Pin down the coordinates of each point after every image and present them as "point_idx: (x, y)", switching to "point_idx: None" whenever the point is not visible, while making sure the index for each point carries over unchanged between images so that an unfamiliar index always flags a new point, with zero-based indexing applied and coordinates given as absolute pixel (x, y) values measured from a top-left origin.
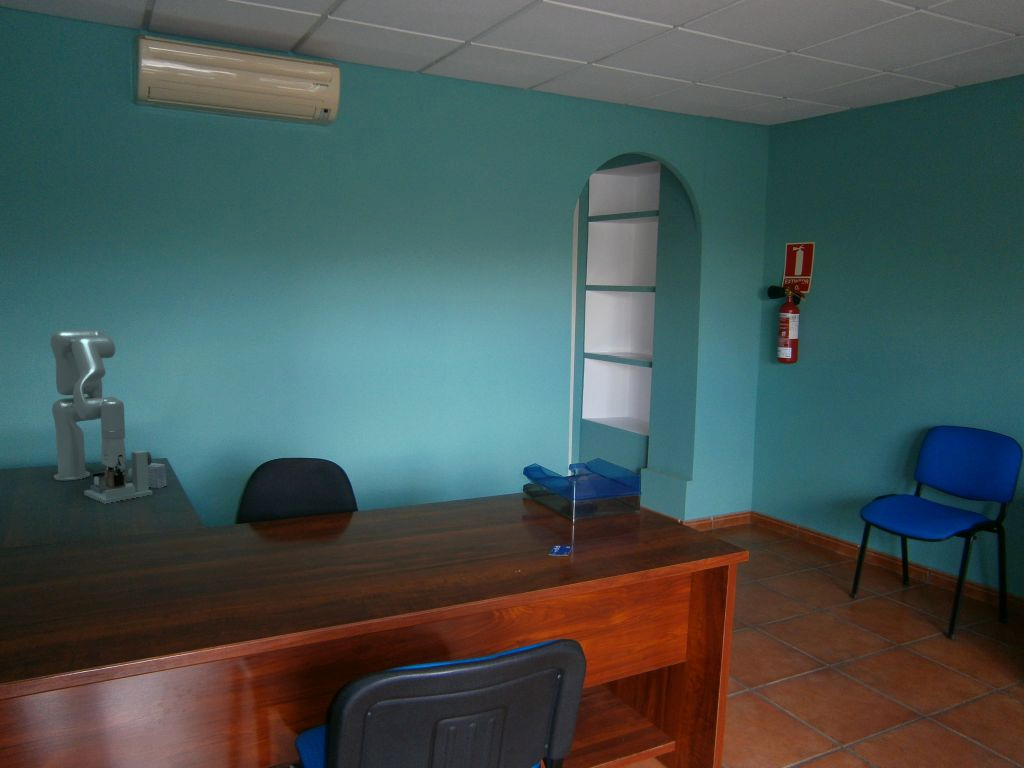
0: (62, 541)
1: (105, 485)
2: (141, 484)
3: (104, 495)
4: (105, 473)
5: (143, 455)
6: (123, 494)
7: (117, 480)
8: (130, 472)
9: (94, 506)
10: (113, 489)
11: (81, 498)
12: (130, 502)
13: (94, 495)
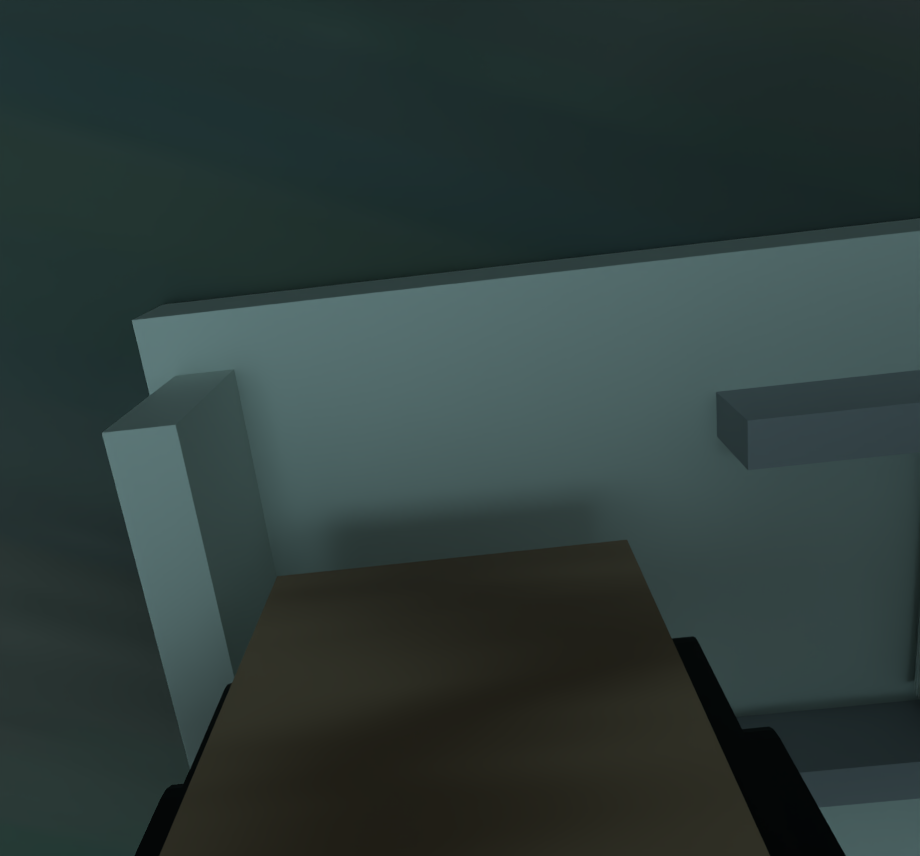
0: None
1: (621, 554)
2: None
3: (506, 422)
4: (661, 801)
5: None
6: None
7: (149, 848)
8: None
9: (90, 96)
10: (154, 595)
11: (906, 59)
12: (55, 664)
13: (647, 262)
